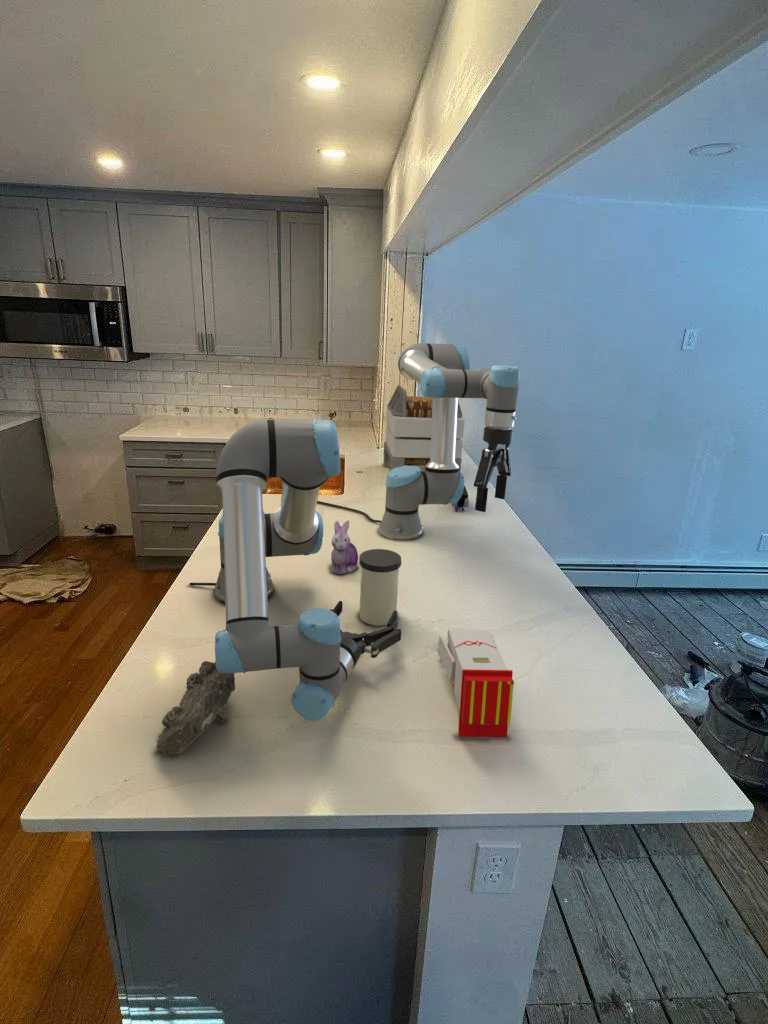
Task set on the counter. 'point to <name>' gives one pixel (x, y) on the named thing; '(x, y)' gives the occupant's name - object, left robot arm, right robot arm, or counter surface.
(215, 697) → the fossil
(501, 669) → the toy
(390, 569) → the lid
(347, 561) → the figurine
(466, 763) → the counter surface
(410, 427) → the white wooden crate
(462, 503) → the figurine character
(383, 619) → the jar
